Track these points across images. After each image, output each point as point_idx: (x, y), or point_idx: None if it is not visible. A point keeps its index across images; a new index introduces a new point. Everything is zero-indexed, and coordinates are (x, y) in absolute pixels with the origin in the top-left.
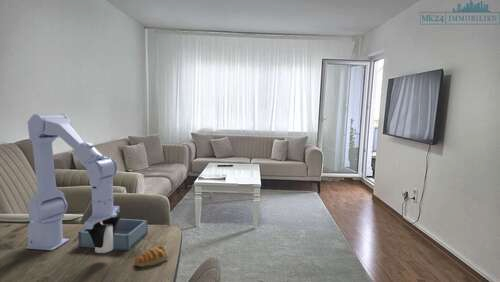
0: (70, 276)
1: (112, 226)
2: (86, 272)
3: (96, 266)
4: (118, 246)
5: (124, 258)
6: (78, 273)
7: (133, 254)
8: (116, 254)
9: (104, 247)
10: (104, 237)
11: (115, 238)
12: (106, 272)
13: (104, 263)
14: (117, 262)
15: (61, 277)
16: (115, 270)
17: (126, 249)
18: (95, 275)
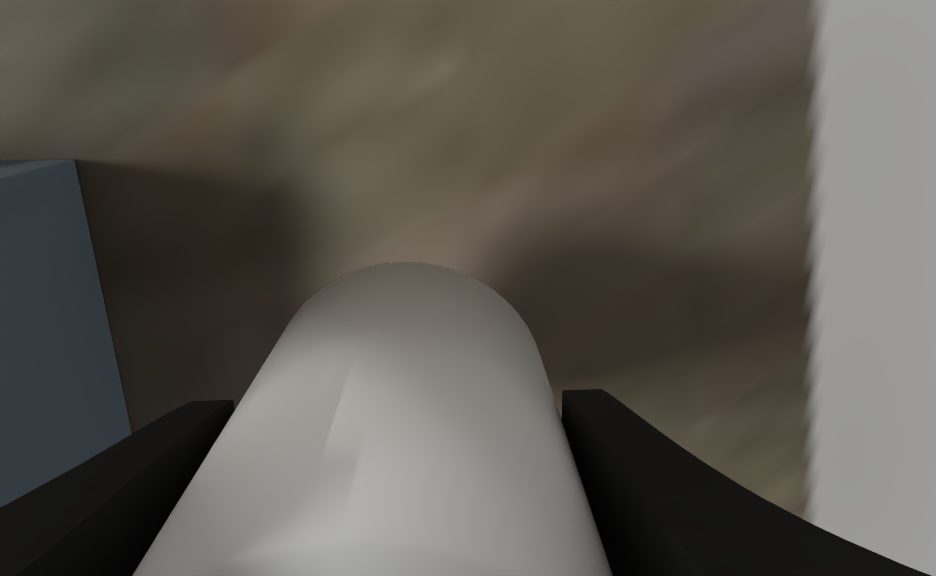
0: (792, 455)
1: (231, 562)
2: (709, 353)
3: (572, 327)
4: (84, 333)
5: (314, 88)
6: (733, 418)
7: (167, 14)
8: (240, 264)
9: (534, 356)
10: (565, 468)
11: (18, 438)
12: (699, 121)
13: (491, 278)
14: (439, 125)
15: (810, 520)
16: (644, 27)
17: (77, 200)
18: (771, 214)
